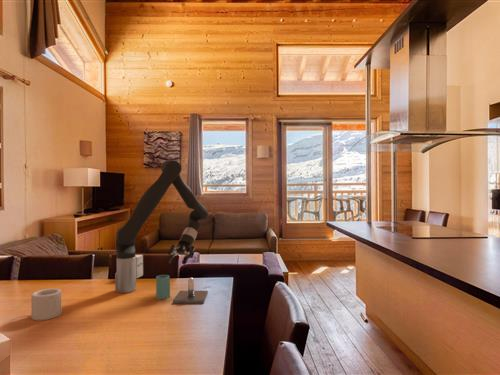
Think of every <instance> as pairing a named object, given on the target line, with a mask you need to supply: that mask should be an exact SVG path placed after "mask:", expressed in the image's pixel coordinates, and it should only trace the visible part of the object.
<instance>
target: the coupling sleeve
mask: <svg viewBox="0 0 500 375" xmlns="http://www.w3.org/2000/svg"><path fill="white" fill-rule="evenodd" d="M170 280H171V277H170V275H169V274H160V275H156V276H155V288H156V290H155V293H156V300H167V299H169V298H170V297H171V285H170V284H171V281H170Z"/></svg>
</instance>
